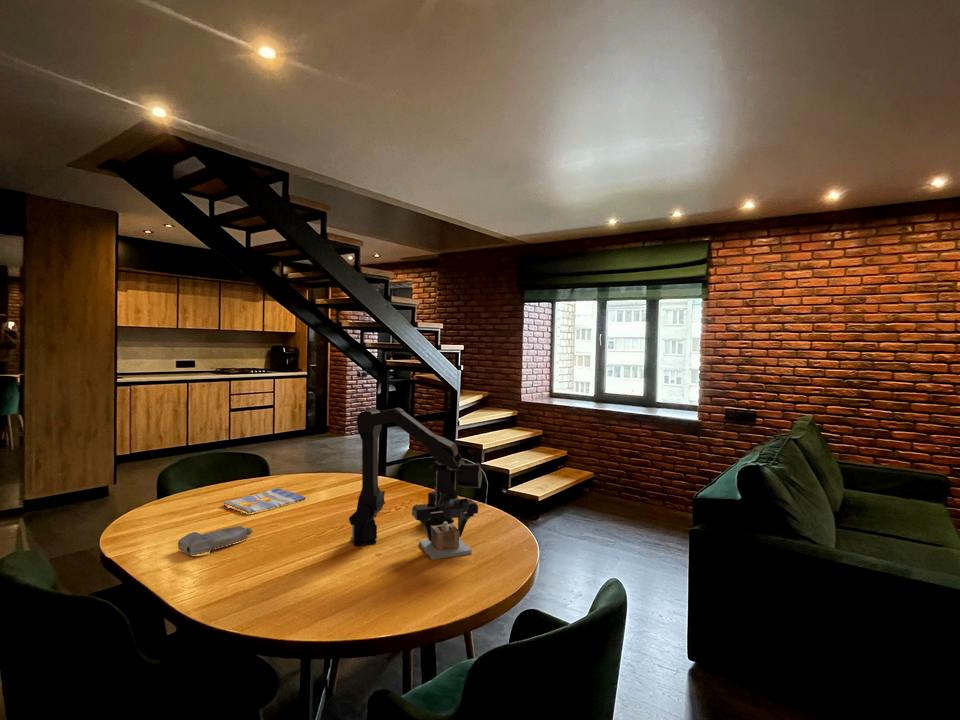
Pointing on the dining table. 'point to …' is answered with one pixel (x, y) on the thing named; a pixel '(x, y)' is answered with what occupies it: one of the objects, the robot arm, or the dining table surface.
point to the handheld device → (212, 540)
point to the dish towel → (276, 497)
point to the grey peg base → (436, 554)
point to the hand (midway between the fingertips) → (444, 538)
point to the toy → (440, 516)
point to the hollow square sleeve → (444, 537)
